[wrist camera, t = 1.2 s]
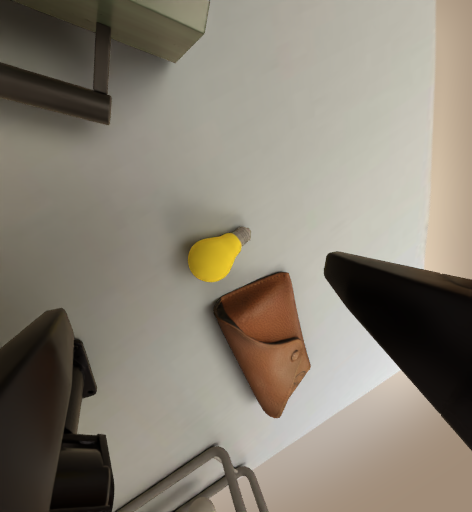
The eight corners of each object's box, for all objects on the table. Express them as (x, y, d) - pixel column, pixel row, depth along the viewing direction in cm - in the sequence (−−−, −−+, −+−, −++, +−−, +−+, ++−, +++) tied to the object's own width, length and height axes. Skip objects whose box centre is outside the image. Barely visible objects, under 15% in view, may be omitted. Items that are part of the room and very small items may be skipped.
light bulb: (174, 254, 22) (186, 256, 18) (229, 215, 24) (249, 210, 20) (197, 287, 23) (213, 294, 19) (248, 246, 25) (270, 246, 21)
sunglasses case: (315, 368, 36) (319, 423, 30) (263, 369, 38) (260, 421, 32) (287, 265, 26) (287, 320, 21) (221, 275, 28) (205, 326, 23)
